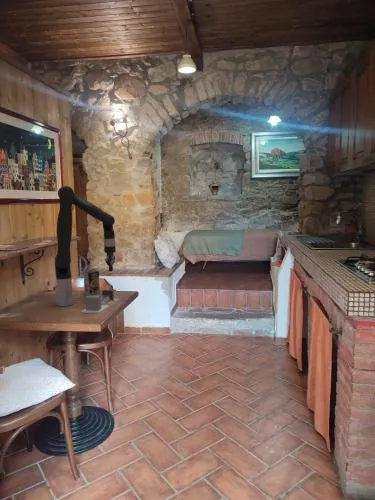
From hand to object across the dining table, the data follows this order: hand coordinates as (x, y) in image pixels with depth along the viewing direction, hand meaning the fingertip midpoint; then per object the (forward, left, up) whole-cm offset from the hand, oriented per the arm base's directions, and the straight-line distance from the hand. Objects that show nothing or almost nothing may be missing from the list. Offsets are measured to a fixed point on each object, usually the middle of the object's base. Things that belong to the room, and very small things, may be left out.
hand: (110, 271), depth 250 cm
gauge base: (0, -18, -19) cm, 27 cm away
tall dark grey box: (+1, -12, -18) cm, 22 cm away
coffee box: (-20, +13, -19) cm, 31 cm away
